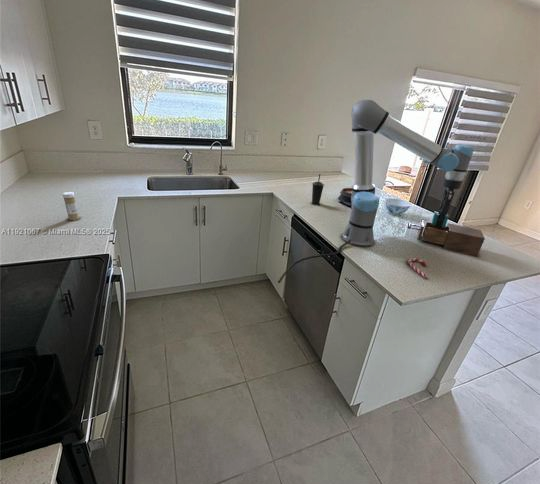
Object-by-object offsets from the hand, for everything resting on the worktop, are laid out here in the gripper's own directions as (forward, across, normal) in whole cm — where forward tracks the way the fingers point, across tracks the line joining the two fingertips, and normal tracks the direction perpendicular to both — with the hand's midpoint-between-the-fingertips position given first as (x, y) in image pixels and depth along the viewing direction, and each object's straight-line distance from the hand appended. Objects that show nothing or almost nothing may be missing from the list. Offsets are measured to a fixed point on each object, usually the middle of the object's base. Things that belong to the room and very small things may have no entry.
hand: (438, 224), depth 146 cm
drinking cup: (+10, +19, +70) cm, 73 cm away
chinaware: (+10, +33, +21) cm, 40 cm away
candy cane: (+10, -35, +6) cm, 37 cm away
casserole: (+10, +37, +50) cm, 63 cm away
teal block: (0, 0, 0) cm, 0 cm away
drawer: (+9, 0, +4) cm, 10 cm away
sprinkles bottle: (+9, -81, +164) cm, 183 cm away
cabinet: (+10, 0, -12) cm, 16 cm away
